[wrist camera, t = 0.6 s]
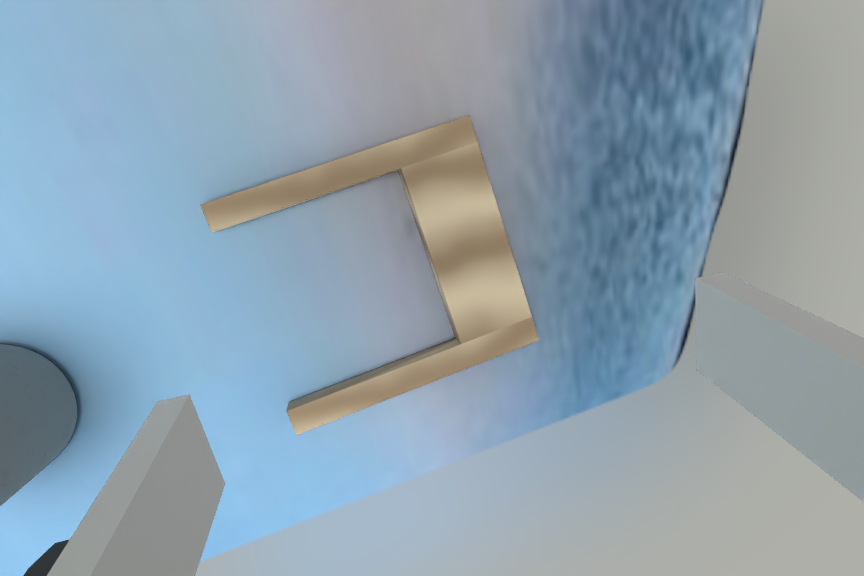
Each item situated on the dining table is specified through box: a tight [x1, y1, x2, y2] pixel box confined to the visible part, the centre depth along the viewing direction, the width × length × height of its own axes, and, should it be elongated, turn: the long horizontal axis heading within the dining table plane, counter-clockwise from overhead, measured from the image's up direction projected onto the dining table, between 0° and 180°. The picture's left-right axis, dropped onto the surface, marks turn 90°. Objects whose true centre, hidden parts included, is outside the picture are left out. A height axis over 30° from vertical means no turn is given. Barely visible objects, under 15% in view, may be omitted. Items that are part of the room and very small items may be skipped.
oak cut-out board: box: [201, 115, 539, 435], centre depth 41 cm, size 18×20×2 cm
